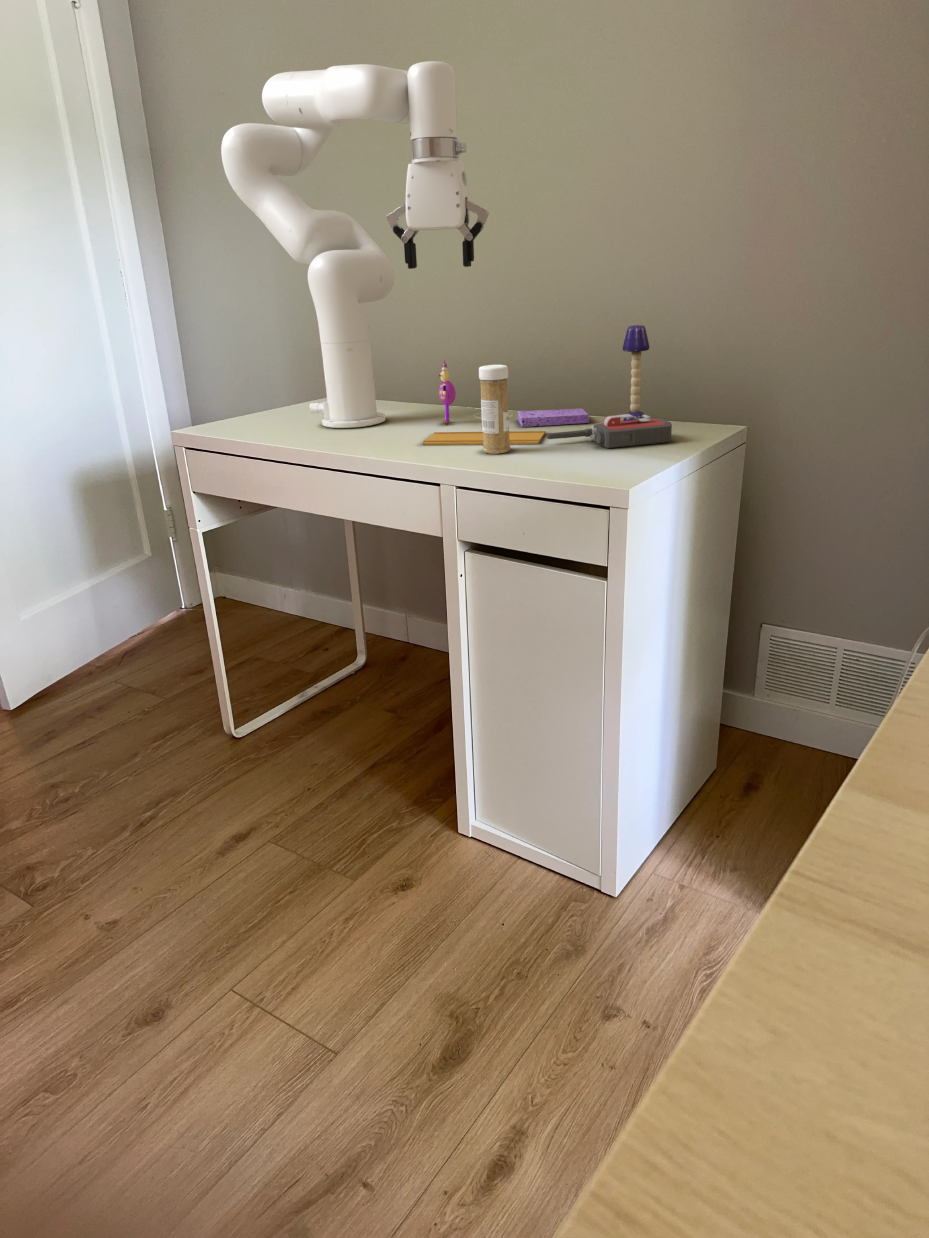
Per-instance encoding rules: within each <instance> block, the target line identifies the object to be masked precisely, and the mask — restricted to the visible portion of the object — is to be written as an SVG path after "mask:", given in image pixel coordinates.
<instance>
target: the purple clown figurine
mask: <svg viewBox="0 0 929 1238" xmlns="http://www.w3.org/2000/svg"><path fill="white" fill-rule="evenodd" d="M447 366H448V365H447V364H446V360H445V358H444V360H443V364H442V367H441V372H439V374H438V377H440V381H441V383H440V385H439V387H438V397H439V399H440V402H441V403H442V404H443V405H444V410H445V411H444V413H445V417H444V420H443V421H442V424H443V425H448V424H449V423H450V406H451V405H453V403H454V402H455V400H456V396H457V393H456V392H457V391H456V388H455V385H454V384H453V382H452V381H450V380H449V379H450V372H449V370H448V367H447Z"/></svg>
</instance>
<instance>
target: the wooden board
mask: <svg viewBox="0 0 929 1238" xmlns="http://www.w3.org/2000/svg"><path fill="white" fill-rule="evenodd" d="M545 435H546V431H545V430H534V431H533V430H529V431H528V430H527V431H526V430H525V431H523V430H522V431H519V430H518V431H517V430H516V431H510V430H509V443H510V445H539V444H540V442H541V441H542V439H543V438H544V436H545ZM422 445H423V446H455V445H457V446H461V445H463V446H466V445H467V446H468V445H469V446H471V445H473V446H474V445H483V432H482V431H434V432H433V434H431V435H430V436H428V438H426V439H425V440H423V441H422Z"/></svg>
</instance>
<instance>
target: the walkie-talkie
mask: <svg viewBox="0 0 929 1238" xmlns="http://www.w3.org/2000/svg"><path fill="white" fill-rule="evenodd" d="M643 417H644V418H642V419H637V418H636V417H634V416H632V415H630V414H627V413H625V414H617V415H607V416H606V417H604V418H603V420H602V423H596V424H594V425H593V424H591V425H590V428H585V429H579V430H569V431H559V432H549V433H547V434H546V438H547V440H558V439H569V438H570V439H571V438H580V437H585V438H590V441H593V442H595V443H596V444H598V445H599V446H602V447H604V448H605V449H615V448H625V447H636V446H647V445H648V446H649V445H655V444H656V445H657V444H666V443H669V442H671V441H672V431H673V428H672V427H673V424H672V422H671V421H669V420H667V419H664V418H661V417H657V418H652V416H650V415H647V414H645V415H643ZM624 418H633V419H635V420H633V421H621V419H624ZM636 420H637V421H636Z"/></svg>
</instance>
